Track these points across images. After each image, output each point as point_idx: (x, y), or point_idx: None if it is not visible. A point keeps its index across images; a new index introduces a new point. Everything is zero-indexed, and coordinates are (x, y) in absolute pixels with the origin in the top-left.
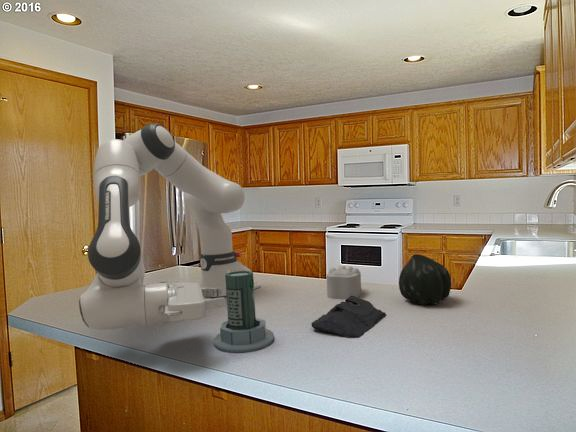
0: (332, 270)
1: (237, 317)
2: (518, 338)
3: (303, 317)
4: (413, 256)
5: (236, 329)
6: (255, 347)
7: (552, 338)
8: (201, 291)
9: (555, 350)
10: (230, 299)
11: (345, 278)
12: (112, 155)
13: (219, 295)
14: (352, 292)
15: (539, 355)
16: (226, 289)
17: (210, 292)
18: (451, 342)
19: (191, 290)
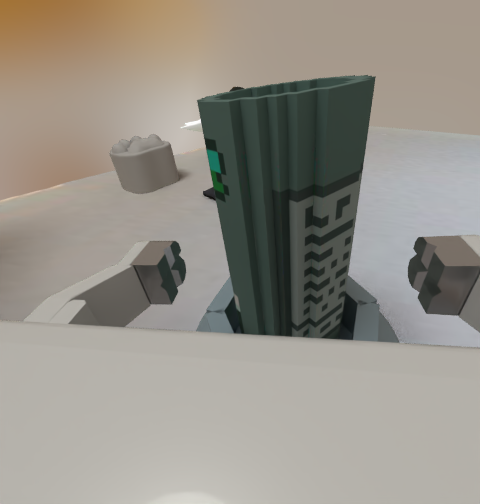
0: (122, 147)
1: (340, 296)
2: (391, 138)
3: (206, 226)
4: (236, 89)
5: (334, 336)
6: (389, 328)
7: (395, 131)
8: (285, 337)
9: (427, 133)
10: (328, 244)
11: (162, 150)
12: None
13: (182, 277)
14: (176, 170)
15: (441, 138)
16: (282, 207)
17: (121, 300)
18: (394, 157)
19: (141, 475)
